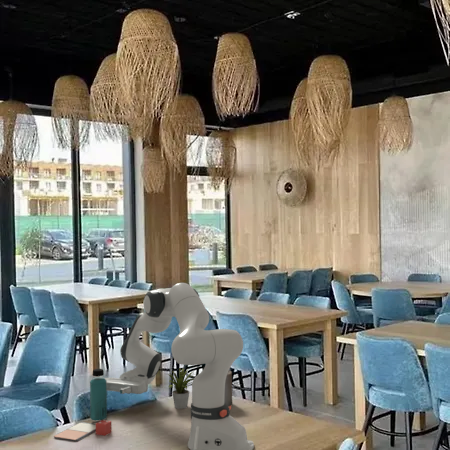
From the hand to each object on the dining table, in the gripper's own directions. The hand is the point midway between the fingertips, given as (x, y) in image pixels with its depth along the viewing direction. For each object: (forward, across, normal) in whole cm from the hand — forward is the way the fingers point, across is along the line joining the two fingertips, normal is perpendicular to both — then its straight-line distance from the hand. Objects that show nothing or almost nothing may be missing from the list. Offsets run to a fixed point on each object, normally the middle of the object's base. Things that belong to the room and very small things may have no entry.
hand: (111, 390), depth 234 cm
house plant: (-19, +21, +10) cm, 30 cm away
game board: (+20, 0, +10) cm, 23 cm away
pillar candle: (-29, +35, +10) cm, 46 cm away
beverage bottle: (+8, 0, +10) cm, 13 cm away
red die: (+18, +9, +10) cm, 23 cm away
